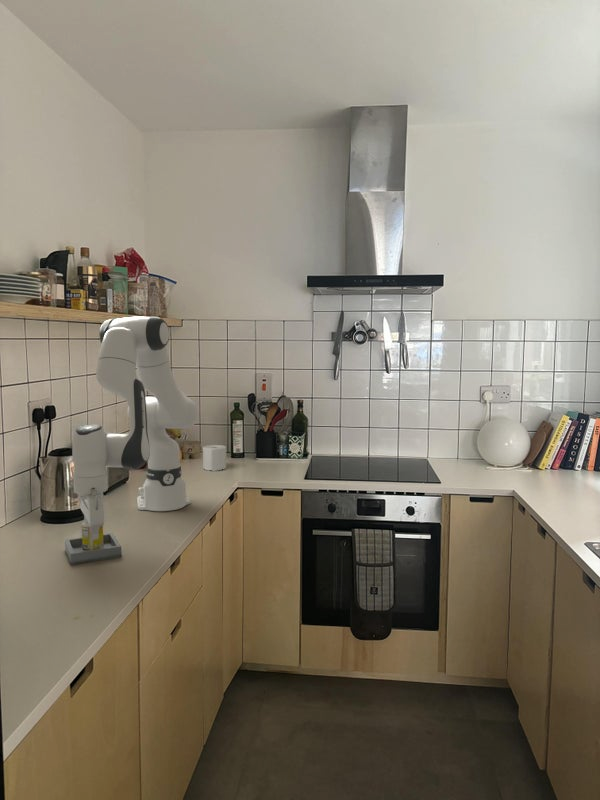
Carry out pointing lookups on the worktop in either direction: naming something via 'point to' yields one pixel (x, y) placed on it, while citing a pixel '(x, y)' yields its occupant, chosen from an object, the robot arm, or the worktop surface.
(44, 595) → the worktop surface
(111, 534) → the tray
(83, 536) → the supplement bottle
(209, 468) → the toilet tissue
